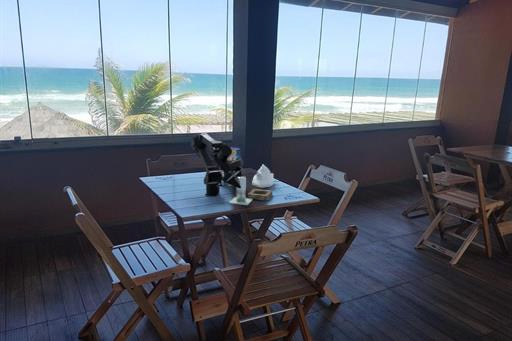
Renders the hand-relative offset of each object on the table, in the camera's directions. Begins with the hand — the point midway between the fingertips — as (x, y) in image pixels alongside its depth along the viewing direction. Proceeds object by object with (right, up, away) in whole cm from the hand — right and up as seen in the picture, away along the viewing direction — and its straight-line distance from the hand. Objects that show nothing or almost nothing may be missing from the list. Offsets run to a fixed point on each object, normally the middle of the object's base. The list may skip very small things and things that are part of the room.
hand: (243, 185), depth 194 cm
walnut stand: (+9, -7, +11) cm, 16 cm away
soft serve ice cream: (+11, -1, +36) cm, 38 cm away
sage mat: (-1, -8, +2) cm, 9 cm away
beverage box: (-9, -1, +35) cm, 36 cm away
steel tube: (-1, -8, +2) cm, 8 cm away
